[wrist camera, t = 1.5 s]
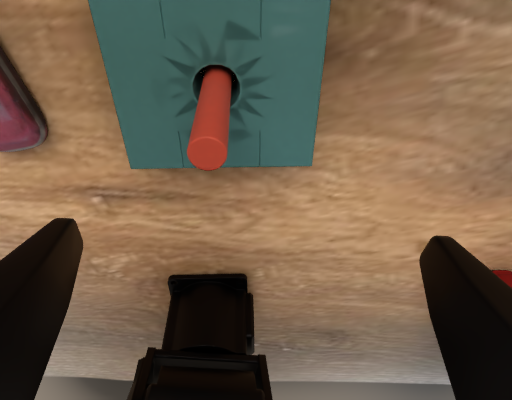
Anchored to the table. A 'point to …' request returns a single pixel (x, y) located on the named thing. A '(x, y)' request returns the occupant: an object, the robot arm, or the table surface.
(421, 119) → the table surface
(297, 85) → the block
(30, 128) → the eraser
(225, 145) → the red rod
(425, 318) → the table surface
